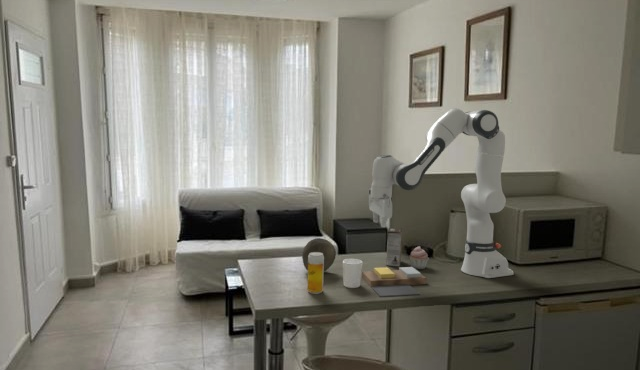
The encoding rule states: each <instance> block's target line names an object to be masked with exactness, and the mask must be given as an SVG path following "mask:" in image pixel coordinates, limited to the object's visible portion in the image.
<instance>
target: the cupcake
mask: <svg viewBox="0 0 640 370" xmlns="http://www.w3.org/2000/svg"><path fill="white" fill-rule="evenodd" d="M428 256H429V255H428V253H427V251H425V250H424V249H422V248H421V246H420V245H419V246H417V247H415V248H414V249H413V250H412V251H411V252H410V255H409V256H408V259H409V263H410V267H413V268H414V269H416V270H425V269H426V266H427V264H428V261H429V259H430V258H429V257H428Z"/></svg>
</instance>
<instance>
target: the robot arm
mask: <svg viewBox="0 0 640 370" xmlns="http://www.w3.org/2000/svg"><path fill="white" fill-rule="evenodd" d="M461 134H464V135H465V136H470V137H471V136H472V137H476V138H477V141H478V147H477V152H476V156H475V157H476V159H475V162H474V168H473V171H474V173H475V175H476V183H469V184H467V185H465V186H464V187H463V188H462V190H461V193H460V197H461V200H462V202H463V205H464V210H465V214H466V216H465V217H466V224H467V226H466V227H467V228H466V239H465V242H464V243H465V244H464V256H463V257H464V259H463V262H462V265H461V268H460V271H461V272H463V273H464V274H466V275H471V276H476V277H483V278H486V279H491V278H492V279H493V278H499V277H507V276H513V275H515V274H514V271H513V270H512V269H511V268H509V262H508V260H507V258H506V257H505V256H504V255H502V254H501V253H500V252H499V251H497V249H500V248H501V244H500V243H498V242H495V241H494V227H495V226H494V225H495V224H494V222H493V221H492V218H491V215H490V214H495V213H499V212H501V211H502V210H503V209H504V208H505V206H506V203H507V201H506V200H507V199H506V196H505V194H504V192H503V187H502V168H503V162H504V155H505V152H506V151H505V150H506V149H505V148H506V134H505V133H504V132H503V131H502V130H500V126H499V120H498V117H497V115H496V114H495V112H493V111H491V110H487V109H477V110H475V109H474V110H471V111H467V112H465V111H463V110H462V109H460V108H457V107H456V108H455V107H453V108H450V109H449V110H448V111H446V112H445V113H443V114H442V115H441V116H440V117H439V118H438V119H437V120H436V121H435V122H434V123H433V124H432V125H431V126H430V127H429V129H428V130H427V132H426V134H425V141H426V145H425V148H424V149H423V150H422V151H421V152H420V154H419V155H418V156H417V157H416V158H415V159H414V161H413V162H411V163H409V164H407V163H404V162H403V161H400V160H397V159H396V158H395V157H393V155H391V154H387V155H386V154H383V155H379V156H377V157H375V159H374V160H373V163H372V169H371V170H372V171H371V176H372V177H371V178H372V183H371V185H370V186H371V187H370V188H369V189H368V191H367V193H368V208H369V211H371V212H372V217H373V219H372V220H373V223H375V224H377V223H379V216H380V217H381V222H380V227H381V228H386V225H387V221H388V219H392V217H393V202H392V200H391V198H392V196H393V195H392V193H393V185H397V186H399V187H400V188H401V189H403V190H404V191H413V190H415V189H417V188H418V187H419V186H420V184H421V183H422V181H423V178H424V175H425V174H426V172H427V171H428V170H429V169H430V167H431V166H433V164H434V163H435V162H436V160H437V159H438V158H439V157H440V156H441V154H442V153H443V152H444V151H445V149H447V147H449V146H450V145H451V144H452V143H453V142H454V141H455V140H456V138H458V136H459V135H461ZM496 248H497V249H496Z"/></svg>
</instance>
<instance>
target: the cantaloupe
mask: <svg viewBox="0 0 640 370" xmlns="http://www.w3.org/2000/svg"><path fill="white" fill-rule="evenodd" d="M311 252H320V253H323V256H324V272H326V271H327V270H329V269H330V267H331V266H332V265H333V264H334V262H335V259H336V255H337V252H336V249H335V246H334V245H333V244H332V242H331V241H329V240H327V239H325V238H320V237H317V238H313V239H311V240H310V241H308V242H307V243H306V245H305V246H304V248H303V249H302V254H301V256H302V263H303V266H304V268H305V269H306V271H308V256H309V253H311Z"/></svg>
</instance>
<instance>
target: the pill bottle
mask: <svg viewBox="0 0 640 370" xmlns="http://www.w3.org/2000/svg"><path fill="white" fill-rule="evenodd" d="M324 273H325V271H324V256H323V253H320V252H311V253H309V256H308V270H307V291H308V293H309V294H313V295H319V294H321V293H322V292H323V291H324V279H325V278H324Z"/></svg>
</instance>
